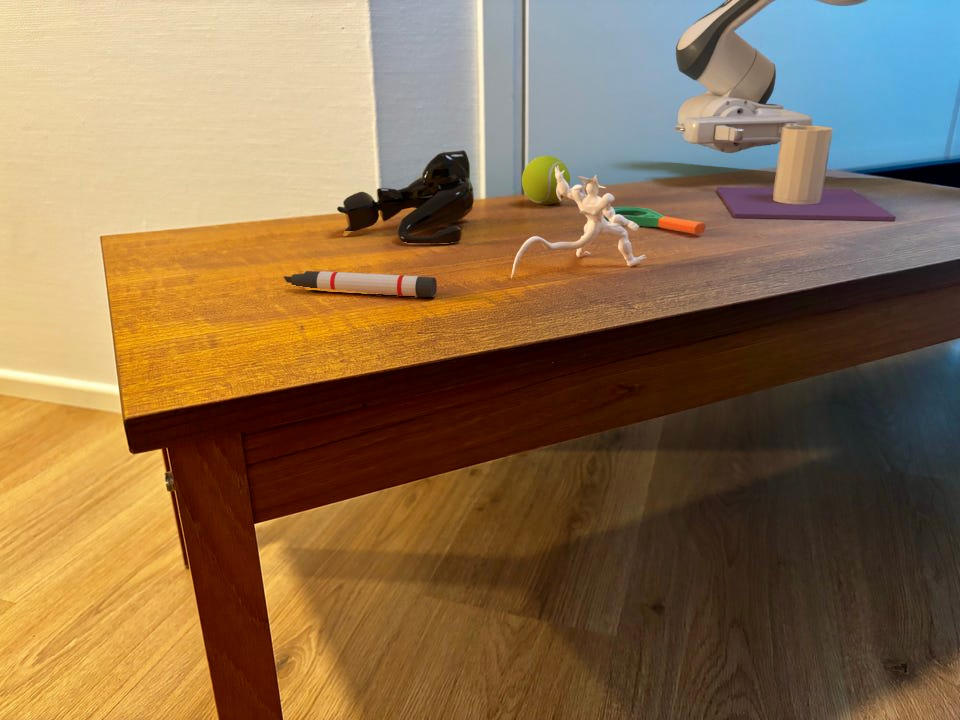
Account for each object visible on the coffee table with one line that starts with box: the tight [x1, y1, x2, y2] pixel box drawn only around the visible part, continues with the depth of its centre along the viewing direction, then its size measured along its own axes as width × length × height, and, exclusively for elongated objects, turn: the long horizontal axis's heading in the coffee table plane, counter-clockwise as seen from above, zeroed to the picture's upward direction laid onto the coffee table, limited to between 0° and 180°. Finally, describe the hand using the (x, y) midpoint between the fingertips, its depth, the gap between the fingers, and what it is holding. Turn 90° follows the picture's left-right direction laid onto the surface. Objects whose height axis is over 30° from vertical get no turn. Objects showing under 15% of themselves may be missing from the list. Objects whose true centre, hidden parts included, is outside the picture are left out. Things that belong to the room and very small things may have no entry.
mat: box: [716, 186, 897, 222], centre depth 106 cm, size 20×20×1 cm
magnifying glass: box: [604, 206, 706, 236], centre depth 94 cm, size 15×6×2 cm, turn 35°
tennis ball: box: [521, 155, 571, 206], centre depth 108 cm, size 7×7×7 cm
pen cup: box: [773, 125, 834, 205], centre depth 104 cm, size 6×6×10 cm
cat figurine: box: [336, 149, 475, 244], centre depth 91 cm, size 10×14×18 cm
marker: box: [283, 270, 438, 298], centre depth 70 cm, size 15×2×2 cm, turn 77°
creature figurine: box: [510, 165, 647, 280], centre depth 75 cm, size 12×11×12 cm
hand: (768, 134), depth 112 cm, fingers open, 8 cm apart
